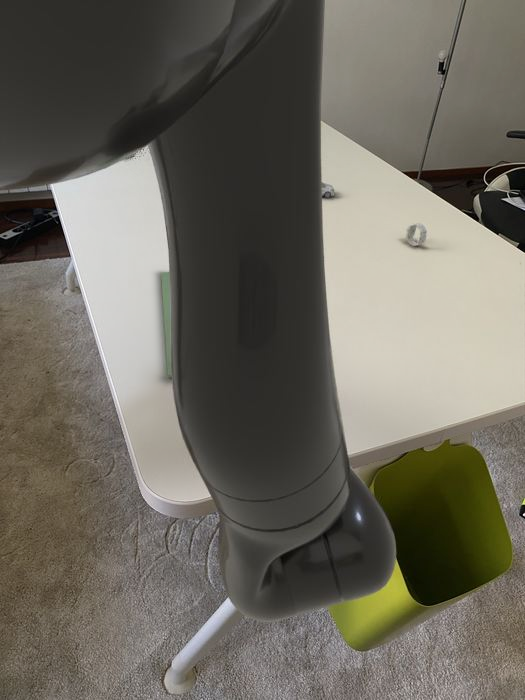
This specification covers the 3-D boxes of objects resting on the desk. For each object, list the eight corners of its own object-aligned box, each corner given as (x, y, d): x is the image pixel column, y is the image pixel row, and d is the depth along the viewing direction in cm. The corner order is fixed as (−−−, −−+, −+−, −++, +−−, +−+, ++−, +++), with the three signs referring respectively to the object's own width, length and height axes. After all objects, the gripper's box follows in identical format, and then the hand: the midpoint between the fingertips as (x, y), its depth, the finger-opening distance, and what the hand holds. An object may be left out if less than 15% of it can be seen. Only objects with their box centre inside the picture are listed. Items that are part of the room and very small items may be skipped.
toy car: (335, 198, 114) (338, 184, 112) (297, 196, 113) (299, 182, 111) (332, 191, 117) (335, 177, 115) (295, 189, 116) (297, 175, 114)
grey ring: (424, 247, 100) (430, 227, 98) (416, 250, 99) (422, 229, 97) (411, 239, 103) (416, 219, 100) (402, 241, 102) (408, 221, 99)
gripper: (342, 329, 45) (295, 228, 58) (177, 334, 42) (167, 228, 55) (326, 395, 49) (286, 288, 62) (178, 404, 47) (168, 291, 60)
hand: (230, 260), depth 59 cm, fingers closed
